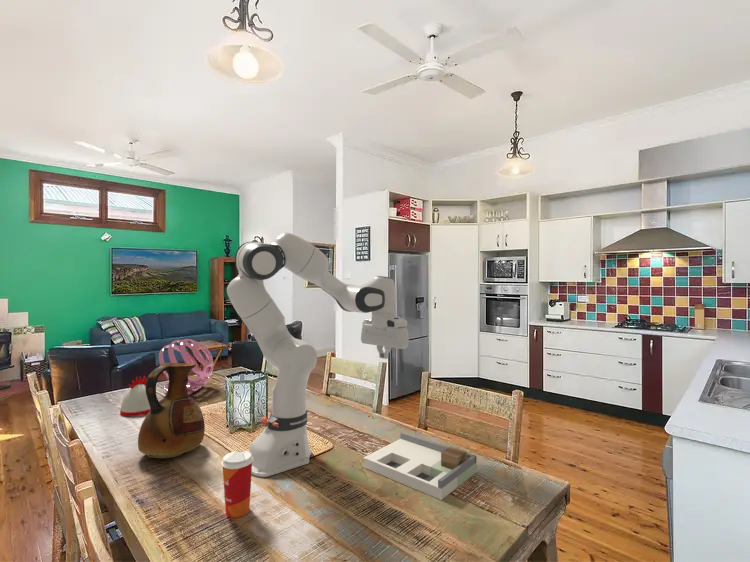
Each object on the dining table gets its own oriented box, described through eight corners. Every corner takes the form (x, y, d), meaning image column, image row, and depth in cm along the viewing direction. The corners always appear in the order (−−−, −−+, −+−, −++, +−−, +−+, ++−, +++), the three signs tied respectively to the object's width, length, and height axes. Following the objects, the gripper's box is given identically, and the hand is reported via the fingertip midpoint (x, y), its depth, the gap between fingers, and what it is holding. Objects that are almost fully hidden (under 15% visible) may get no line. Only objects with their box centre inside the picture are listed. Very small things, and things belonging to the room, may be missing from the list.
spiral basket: (131, 357, 197) (177, 325, 197) (168, 359, 224) (209, 332, 224) (153, 407, 189) (201, 375, 189) (189, 403, 216) (231, 375, 216)
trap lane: (441, 500, 107) (441, 481, 107) (363, 467, 125) (363, 451, 125) (476, 472, 122) (476, 455, 122) (402, 446, 140) (402, 432, 140)
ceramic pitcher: (217, 445, 141) (216, 360, 140) (165, 470, 123) (165, 372, 122) (178, 436, 149) (177, 355, 149) (124, 458, 131) (123, 366, 130)
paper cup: (226, 503, 105) (226, 450, 105) (256, 502, 106) (256, 449, 105) (217, 521, 97) (216, 464, 97) (249, 520, 98) (249, 462, 98)
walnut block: (457, 471, 116) (457, 457, 116) (441, 465, 119) (441, 452, 119) (466, 464, 120) (466, 451, 120) (450, 459, 124) (450, 446, 124)
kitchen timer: (163, 409, 179) (162, 375, 179) (130, 418, 168) (130, 382, 168) (146, 403, 187) (146, 371, 187) (114, 412, 175) (113, 378, 175)
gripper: (357, 319, 152) (357, 355, 152) (400, 323, 138) (400, 363, 139) (368, 317, 157) (368, 353, 157) (411, 321, 143) (411, 360, 143)
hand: (383, 358), depth 148 cm, fingers closed
